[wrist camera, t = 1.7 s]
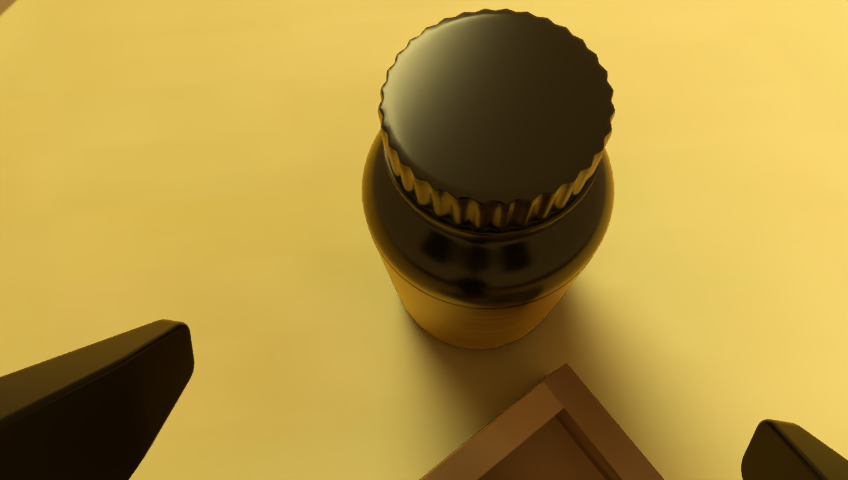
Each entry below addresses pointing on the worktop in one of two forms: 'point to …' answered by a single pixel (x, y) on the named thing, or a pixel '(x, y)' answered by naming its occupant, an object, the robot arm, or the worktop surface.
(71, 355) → the robot arm
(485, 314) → the supplement bottle
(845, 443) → the worktop surface
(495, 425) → the walnut tray
